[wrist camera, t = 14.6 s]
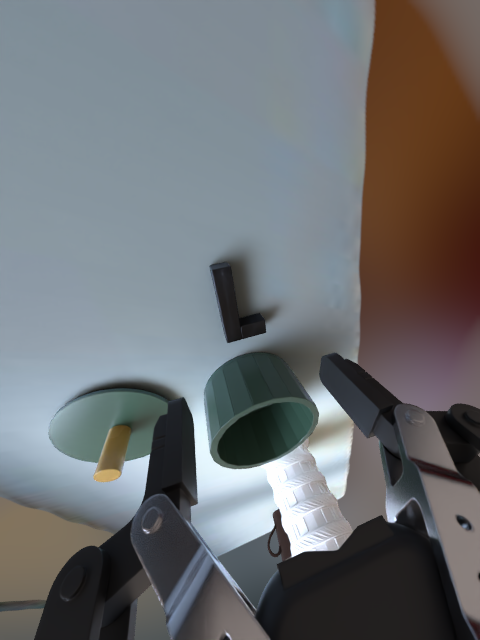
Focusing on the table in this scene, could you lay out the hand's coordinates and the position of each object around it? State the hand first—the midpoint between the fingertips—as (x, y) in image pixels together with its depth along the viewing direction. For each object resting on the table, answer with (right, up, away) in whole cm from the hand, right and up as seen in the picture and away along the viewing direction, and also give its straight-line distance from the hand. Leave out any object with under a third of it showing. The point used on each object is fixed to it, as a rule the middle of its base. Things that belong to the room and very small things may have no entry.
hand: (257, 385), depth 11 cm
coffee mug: (+12, -60, +52) cm, 80 cm away
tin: (0, -7, +18) cm, 19 cm away
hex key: (-1, +6, +10) cm, 12 cm away
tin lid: (-17, -11, +14) cm, 25 cm away
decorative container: (+8, -24, +31) cm, 40 cm away
